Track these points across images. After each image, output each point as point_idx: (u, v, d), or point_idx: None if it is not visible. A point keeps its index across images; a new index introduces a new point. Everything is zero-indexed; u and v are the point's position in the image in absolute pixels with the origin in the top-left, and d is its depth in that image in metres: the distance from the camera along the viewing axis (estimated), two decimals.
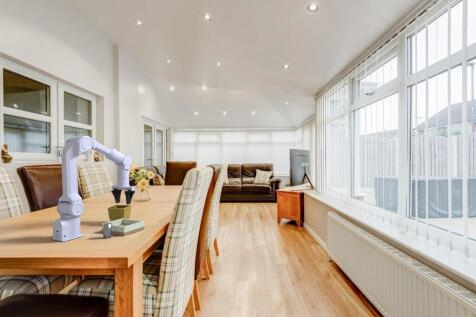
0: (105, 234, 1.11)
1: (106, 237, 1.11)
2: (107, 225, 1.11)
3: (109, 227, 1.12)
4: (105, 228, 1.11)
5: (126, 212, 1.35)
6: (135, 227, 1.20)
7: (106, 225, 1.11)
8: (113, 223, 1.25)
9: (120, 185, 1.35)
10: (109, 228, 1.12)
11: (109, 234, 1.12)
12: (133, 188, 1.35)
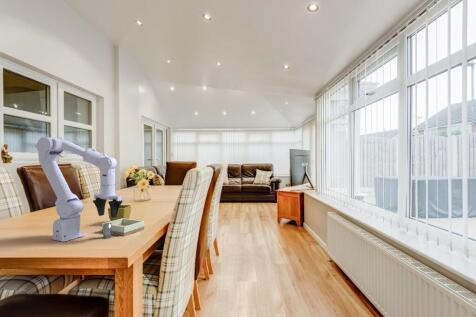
0: (105, 234, 1.11)
1: (106, 237, 1.11)
2: (107, 225, 1.11)
3: (109, 227, 1.12)
4: (105, 228, 1.11)
5: (126, 212, 1.35)
6: (135, 227, 1.20)
7: (106, 225, 1.11)
8: (113, 223, 1.25)
9: (103, 194, 1.10)
10: (109, 228, 1.12)
11: (109, 234, 1.12)
12: (119, 198, 1.10)
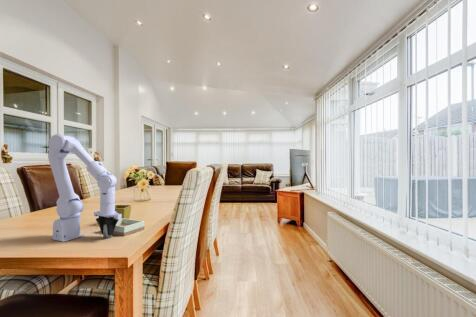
0: (105, 234, 1.11)
1: (106, 237, 1.11)
2: None
3: None
4: (105, 228, 1.11)
5: (126, 212, 1.35)
6: (135, 227, 1.20)
7: (106, 225, 1.11)
8: None
9: (103, 212, 1.10)
10: None
11: None
12: (119, 216, 1.10)
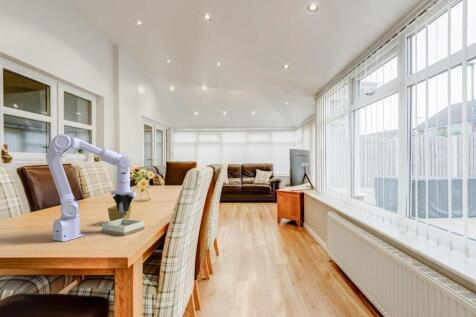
0: (121, 211, 1.21)
1: (122, 214, 1.21)
2: None
3: None
4: (121, 206, 1.21)
5: None
6: (135, 227, 1.20)
7: (122, 203, 1.21)
8: (113, 223, 1.25)
9: (120, 190, 1.20)
10: None
11: None
12: (135, 194, 1.20)
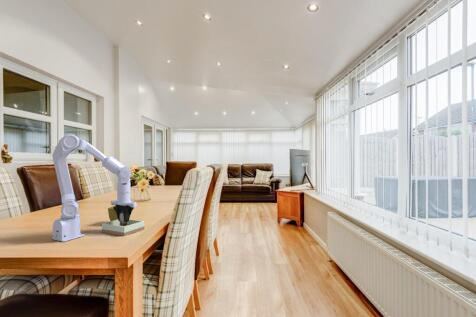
0: (122, 222, 1.21)
1: (123, 224, 1.22)
2: (123, 214, 1.22)
3: None
4: (122, 216, 1.21)
5: None
6: (135, 227, 1.20)
7: (122, 214, 1.22)
8: (113, 223, 1.25)
9: (120, 201, 1.20)
10: None
11: (125, 222, 1.22)
12: (135, 204, 1.20)
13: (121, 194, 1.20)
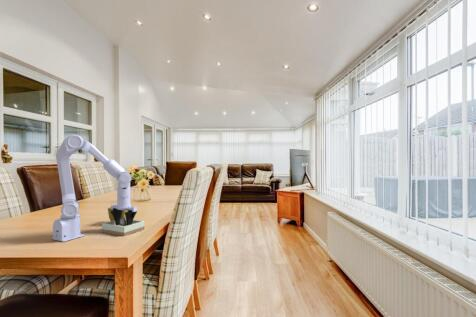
0: None
1: None
2: (123, 219, 1.22)
3: (125, 221, 1.22)
4: (122, 222, 1.21)
5: None
6: (135, 227, 1.20)
7: (123, 219, 1.22)
8: (113, 223, 1.25)
9: (120, 205, 1.20)
10: (125, 222, 1.22)
11: None
12: (135, 209, 1.20)
13: (121, 198, 1.20)
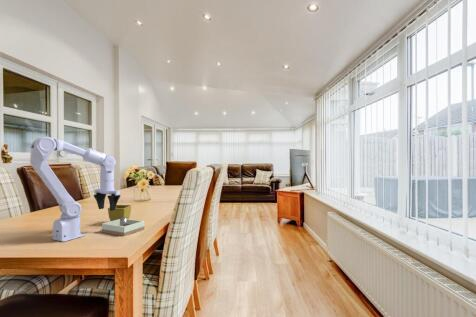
0: None
1: None
2: (124, 219, 1.22)
3: (125, 221, 1.22)
4: (122, 222, 1.21)
5: (126, 212, 1.35)
6: (135, 227, 1.20)
7: (123, 219, 1.22)
8: (113, 223, 1.25)
9: (103, 189, 1.21)
10: (125, 222, 1.22)
11: None
12: (118, 192, 1.20)
13: (104, 182, 1.21)
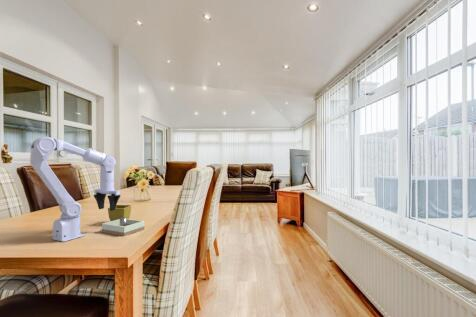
0: None
1: None
2: (123, 219, 1.22)
3: (125, 221, 1.22)
4: (122, 222, 1.21)
5: (126, 212, 1.35)
6: (135, 227, 1.20)
7: (122, 219, 1.22)
8: (113, 223, 1.25)
9: (103, 189, 1.21)
10: (125, 222, 1.22)
11: None
12: (118, 192, 1.20)
13: (104, 182, 1.21)
